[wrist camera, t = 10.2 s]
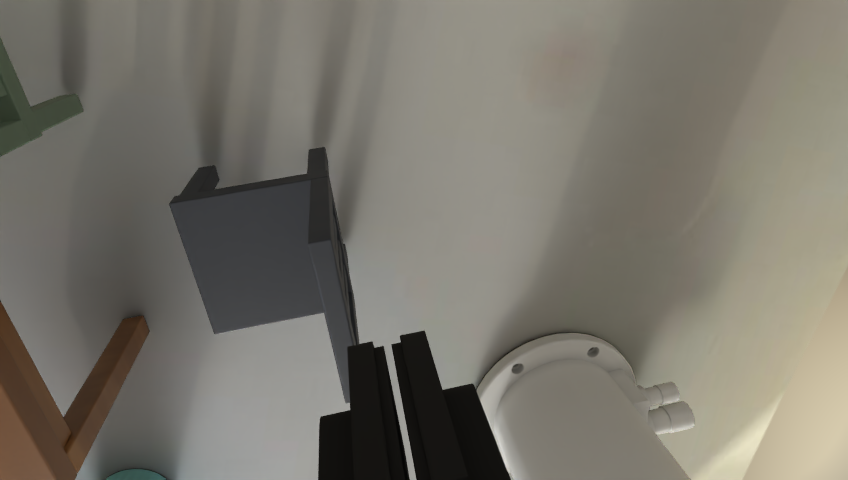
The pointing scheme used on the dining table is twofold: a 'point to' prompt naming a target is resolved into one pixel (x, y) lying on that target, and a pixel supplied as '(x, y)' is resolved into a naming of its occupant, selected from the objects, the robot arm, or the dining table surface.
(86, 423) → the oak table
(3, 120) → the sage chair
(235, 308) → the charcoal chair
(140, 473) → the cupcake
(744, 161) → the dining table surface
